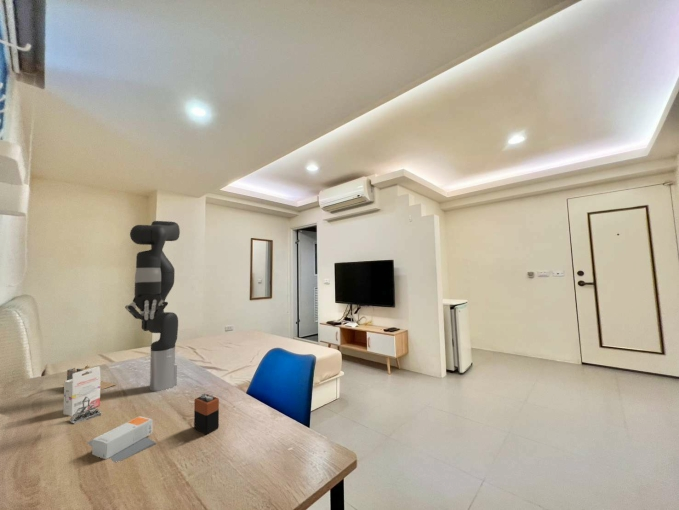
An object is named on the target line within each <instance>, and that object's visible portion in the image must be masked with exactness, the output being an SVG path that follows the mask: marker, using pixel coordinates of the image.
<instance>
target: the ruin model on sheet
mask: <svg viewBox="0 0 679 510" xmlns="http://www.w3.org/2000/svg"><path fill="white" fill-rule="evenodd" d="M90 368H91V365H88V364H87V365H86V366H84V369H81V368H76V367H73V368H70V369H67V371H66V381H67V380H71V379H72V378H73V377H72V374H73V373H76V372H80V371H83V370H87V369H90ZM87 374H90V372H86V373H84V374H82V376H84V375H87ZM61 385H63V386H64V383H63V384H61ZM115 385H117V384H116V383H111V382H107V381H102V380H100V391H101V390H104V389H107V388H110V387H113V386H115Z"/></svg>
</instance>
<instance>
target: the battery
mask: <svg viewBox="0 0 679 510" xmlns="http://www.w3.org/2000/svg"><path fill="white" fill-rule="evenodd" d="M193 405H194V410H193V411H194V412H193V413H194V414H193V415H194V416H193V417H194V419H193V420H194V421H193V426H194V427H193V428H194V429H195V430H197V431H198V432H200V433H202V434H204V435H209V434H210V433H212V432H214V431H215V430H218V429H219V427H220V426H219V425H220V424H219V423H220V420H219V419H220V412H219V411H220V410H219V409H220V406H219V405H220V399H219V398H218V397H217V396H214V395H213V394H212V395H210V394H208V393H202V394H200V396H199V397H196V398H194V404H193Z"/></svg>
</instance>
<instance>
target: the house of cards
mask: <svg viewBox="0 0 679 510" xmlns="http://www.w3.org/2000/svg"><path fill="white" fill-rule="evenodd" d="M86 398H87V397H85V398H84V400H83V401H82V402H83V407H81V408H78V409H77V411H76V413H75V414H73V415H72V416H70V418H69V420H68V421H69V422H70V424H73V425H75V424H77V423H78V424H79V423H81V422H85V421H88V420H89V419H94V418H96V417H99V416H102V411H100V409H98V408H97V407H95V406H94V405H93V404H91V405H89V401H90V400H87V401H85V400H86ZM84 402H88V406H84ZM89 406H90V408H89V409H88V408H87V407H89ZM92 406H94V407H93V408H92ZM86 408H87V410H85V409H86ZM79 409H82V410H81V411H80V412H78V411H79ZM84 410H85V411H84ZM77 412H78V413H77Z"/></svg>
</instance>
